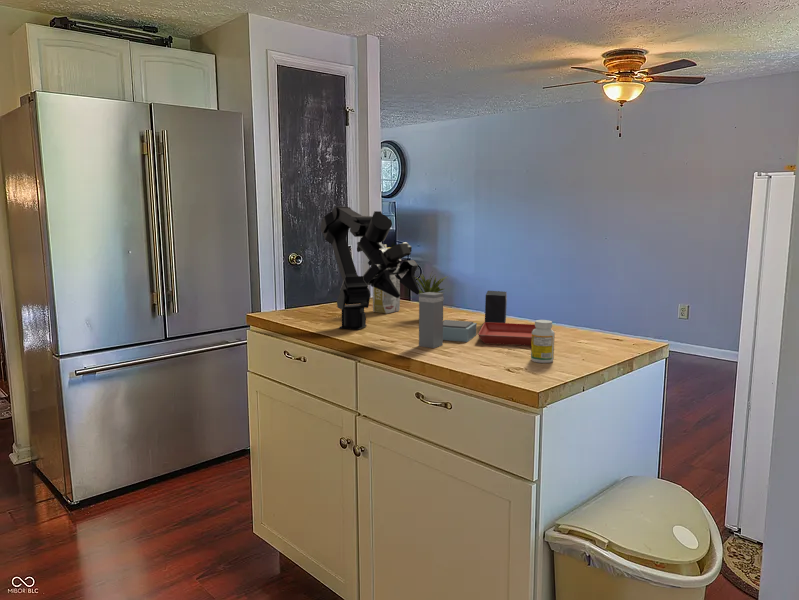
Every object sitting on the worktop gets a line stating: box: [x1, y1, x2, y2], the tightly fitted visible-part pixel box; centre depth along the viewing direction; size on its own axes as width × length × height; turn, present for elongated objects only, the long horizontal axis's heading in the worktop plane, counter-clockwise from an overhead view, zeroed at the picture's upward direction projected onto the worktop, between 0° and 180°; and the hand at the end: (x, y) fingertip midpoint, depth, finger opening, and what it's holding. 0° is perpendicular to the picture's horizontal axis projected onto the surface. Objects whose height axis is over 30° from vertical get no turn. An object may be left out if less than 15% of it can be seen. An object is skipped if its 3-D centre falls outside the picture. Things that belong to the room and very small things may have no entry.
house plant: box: [415, 270, 449, 296], centre depth 199 cm, size 14×14×16 cm
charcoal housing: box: [418, 292, 445, 349], centre depth 160 cm, size 5×5×14 cm
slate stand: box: [443, 319, 478, 343], centre depth 171 cm, size 10×10×4 cm
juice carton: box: [372, 244, 401, 314], centre depth 214 cm, size 9×8×24 cm
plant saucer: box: [477, 321, 536, 347], centre depth 168 cm, size 18×18×3 cm
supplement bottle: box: [530, 319, 556, 364], centre depth 144 cm, size 5×5×10 cm
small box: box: [484, 290, 508, 323], centre depth 189 cm, size 11×6×10 cm, turn 168°
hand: (408, 295), depth 163 cm, fingers open, 9 cm apart
